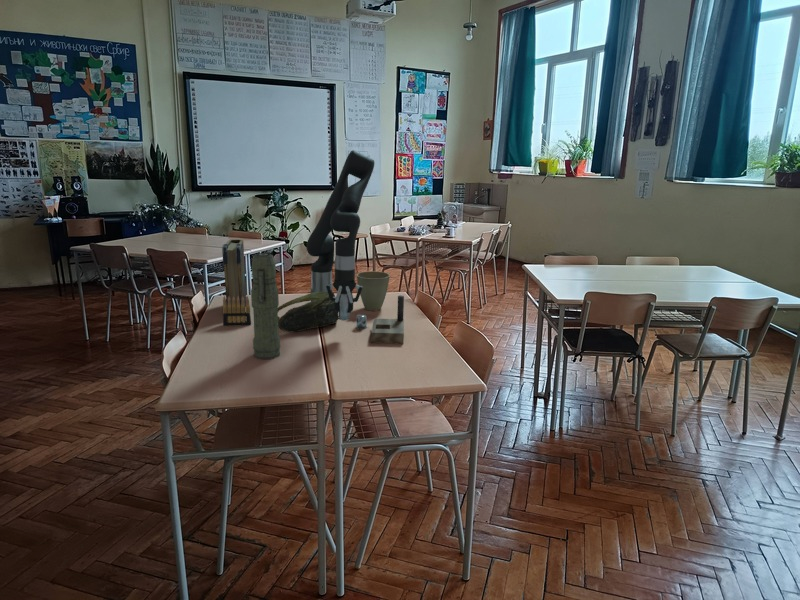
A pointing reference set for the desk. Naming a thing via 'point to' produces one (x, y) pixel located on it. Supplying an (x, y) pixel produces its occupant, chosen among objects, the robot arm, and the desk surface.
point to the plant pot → (373, 288)
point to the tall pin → (344, 307)
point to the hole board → (389, 327)
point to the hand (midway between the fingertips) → (344, 311)
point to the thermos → (265, 307)
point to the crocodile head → (308, 313)
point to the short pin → (361, 321)
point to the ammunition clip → (236, 315)
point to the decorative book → (234, 270)
